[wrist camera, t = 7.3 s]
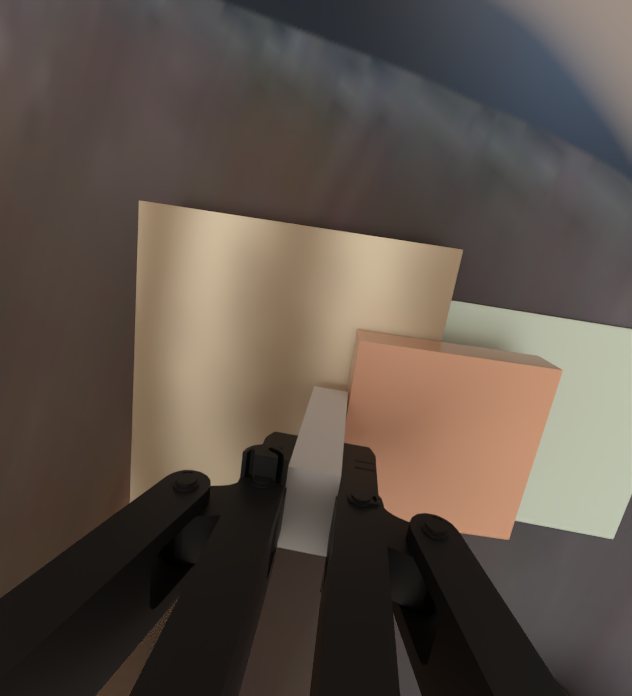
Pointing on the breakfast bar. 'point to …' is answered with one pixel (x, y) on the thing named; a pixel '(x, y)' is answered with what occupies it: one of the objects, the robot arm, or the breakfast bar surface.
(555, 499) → the sage mat
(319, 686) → the robot arm
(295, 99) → the breakfast bar surface
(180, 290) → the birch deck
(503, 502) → the terracotta tile
